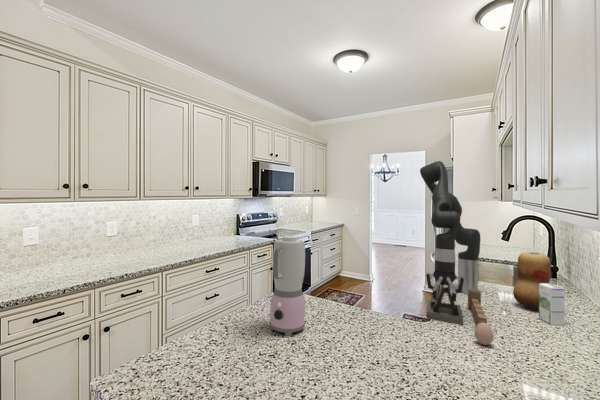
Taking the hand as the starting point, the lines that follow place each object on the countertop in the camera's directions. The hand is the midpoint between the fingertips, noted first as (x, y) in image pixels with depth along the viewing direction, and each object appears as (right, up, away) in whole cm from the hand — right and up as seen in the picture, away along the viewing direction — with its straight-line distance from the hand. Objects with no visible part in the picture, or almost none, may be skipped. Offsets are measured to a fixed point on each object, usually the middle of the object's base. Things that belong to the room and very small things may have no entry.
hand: (444, 300), depth 117 cm
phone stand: (0, -5, -1) cm, 5 cm away
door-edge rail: (+11, -6, -4) cm, 13 cm away
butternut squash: (+45, -7, +10) cm, 47 cm away
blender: (-64, -4, -18) cm, 67 cm away
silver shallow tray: (0, -6, 0) cm, 6 cm away
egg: (0, -6, -25) cm, 25 cm away
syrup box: (+40, -7, -5) cm, 41 cm away
